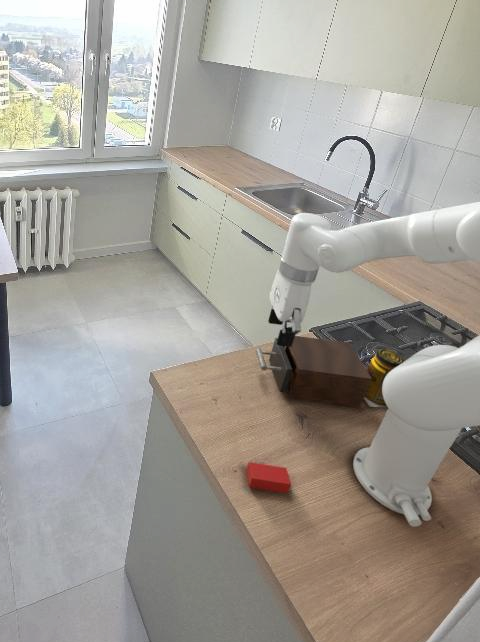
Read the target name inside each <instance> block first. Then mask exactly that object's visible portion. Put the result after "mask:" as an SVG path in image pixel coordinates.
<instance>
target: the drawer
mask: <svg viewBox="0 0 480 642" xmlns="http://www.w3.org/2000/svg"><path fill="white" fill-rule="evenodd" d="M277 339H278V337H275V338H274V341H273V344H272V347H271V351H268V350H262V349H261V348H259V347H258V348H256V349H255V354H256V357H257V360H258V364H259V366H260V370H261V371H267V370H272V374H273V377H274V379H275V382H276V385H277V388H278V391H279V393H284V394H285V393H286V392H287V390H286V388H287V385H289V388H290V390H291V387H292V384H293V380H294V377H295V374H296V371H297V368H296V365H295V363H294V360H293V358H292V356H291V353H290V351H289V348H288V347H287V346H285V348H284V347H283V346H279V345H277ZM264 355H266V356H267V355H268V356H269V359H268V361H269V364H270V365H267V363H266V360H265V356H264Z"/></svg>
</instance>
